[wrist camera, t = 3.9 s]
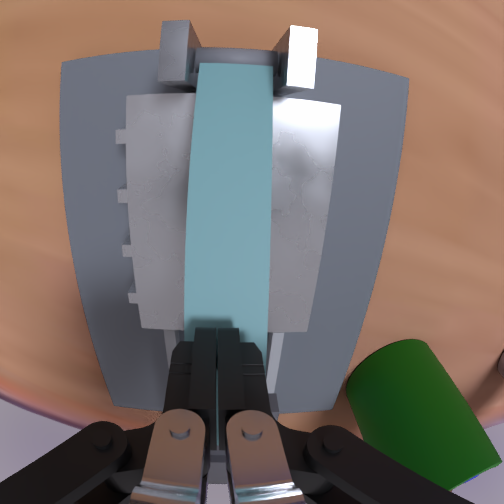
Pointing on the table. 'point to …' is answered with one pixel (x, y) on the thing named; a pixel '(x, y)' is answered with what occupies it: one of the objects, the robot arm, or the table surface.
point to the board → (334, 247)
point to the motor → (419, 415)
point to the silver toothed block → (177, 178)
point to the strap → (230, 196)
